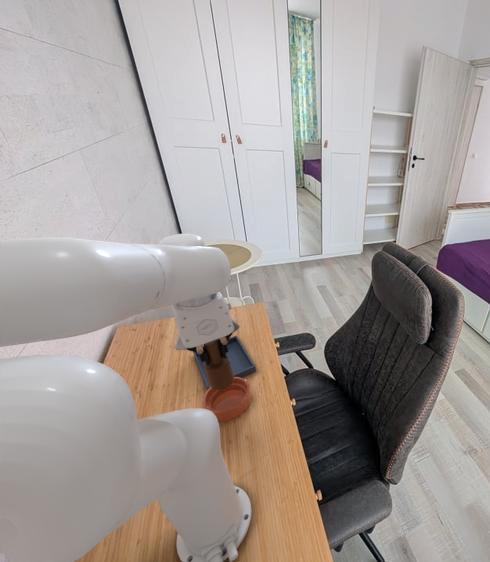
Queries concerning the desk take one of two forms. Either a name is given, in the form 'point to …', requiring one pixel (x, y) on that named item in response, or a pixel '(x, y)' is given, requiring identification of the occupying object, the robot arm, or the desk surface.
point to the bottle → (217, 367)
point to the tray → (232, 360)
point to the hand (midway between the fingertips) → (215, 358)
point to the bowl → (229, 400)
